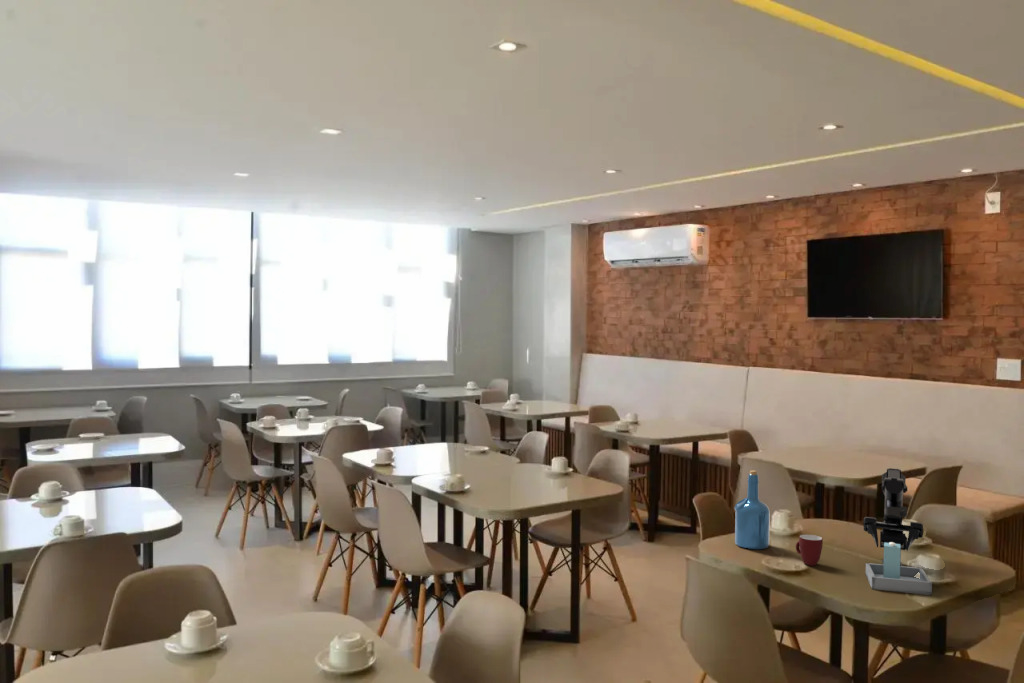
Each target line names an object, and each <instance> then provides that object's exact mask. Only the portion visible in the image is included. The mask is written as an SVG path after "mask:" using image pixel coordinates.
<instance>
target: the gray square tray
mask: <svg viewBox="0 0 1024 683" xmlns="http://www.w3.org/2000/svg"><path fill="white" fill-rule="evenodd" d="M921 568H922V567H915V566H904V565H903V566H900V579H895V578H884V577H883V572H884V565H883V563H882V564H881V563H871V562H866V563H865V572H864V574H865V576H866V578H867V581H868V583H869V585H870V588H871V589H872V590H878V591H888V592H897V593H907V594H908V593H910V594H917V595H926V596H932V595H933V582H932V580H930V578H929V577H928V575H927V574H926V572H925V571H924V569H923V568H922V569H921ZM918 572H919V573H920V579H919V578H916V577H914V576H915V575H916V574H917V573H918Z"/></svg>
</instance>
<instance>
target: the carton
mask: <svg viewBox="0 0 1024 683" xmlns="http://www.w3.org/2000/svg"><path fill="white" fill-rule="evenodd" d="M883 559H884V572H883V577H884V578H895V579H900V544H895V543H893V542H889V543H885V542H884V548H883Z"/></svg>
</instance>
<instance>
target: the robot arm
mask: <svg viewBox="0 0 1024 683" xmlns="http://www.w3.org/2000/svg"><path fill="white" fill-rule="evenodd" d="M906 478H907V476H905V475H904V474H903V473H902V470H901V469H900V468H893V467H892V468H890V467H889V468H886V472H884V473H882V474H881V491H882V492H883V495H884V513H883V521H882V522H881V521H877V518H876V517H871V516H865V517H864V518H863V531H864V532H867V534H868V535H871V537H872V538H873V541H874V543H875V545H876V546H875V547H876V548H883V549H884V542H885V543H889V542H893V543H895V544H900V566H904V565H903V563H902V557H901V556H902V550H903V551H907V552H909V550H910V547H911V546H912V544H913V543H914V542H915V540H918V539H920V538H922V539H923V536H924V524H923V523H922V522H919V521H918V522H917V521H910V524H909V525H907V524H903V517H904V518H905V517H907V516H908V507H907V506H904V505H903V497H904V494H906V492H908V486H907V484H906ZM878 529H881V530H880V531H879V532H880V535H878ZM904 532H908V536H907V535H906V533H904ZM879 540H880V541H879ZM881 563H882V564H883V565H884V558H883V559H881Z"/></svg>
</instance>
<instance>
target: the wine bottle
mask: <svg viewBox="0 0 1024 683" xmlns="http://www.w3.org/2000/svg"><path fill="white" fill-rule="evenodd" d="M759 479H760V478H759V474H758V472H757V470H750V471H749V474H748V477H747V493H746V494H747V495H746V497H745V498H743V499H741V500H739V501H738V502H737V503H736V504H735V506H734V510H735V514H734V515H735V517H734V518H735V521H734V524H735V526H734V543H735V545H736V546H738V547H739V548H743V549H746V548H748V549H749V550H764V549H767V548H769V545H770V523H771V522H770V519H771V515H770V514H771V511H770V508H769V506H768V505H767V504H766V503H764V502H763V501H761V500H760V498H759V495H760V494H759V484H760V482H759ZM748 549H747V550H748Z"/></svg>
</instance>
